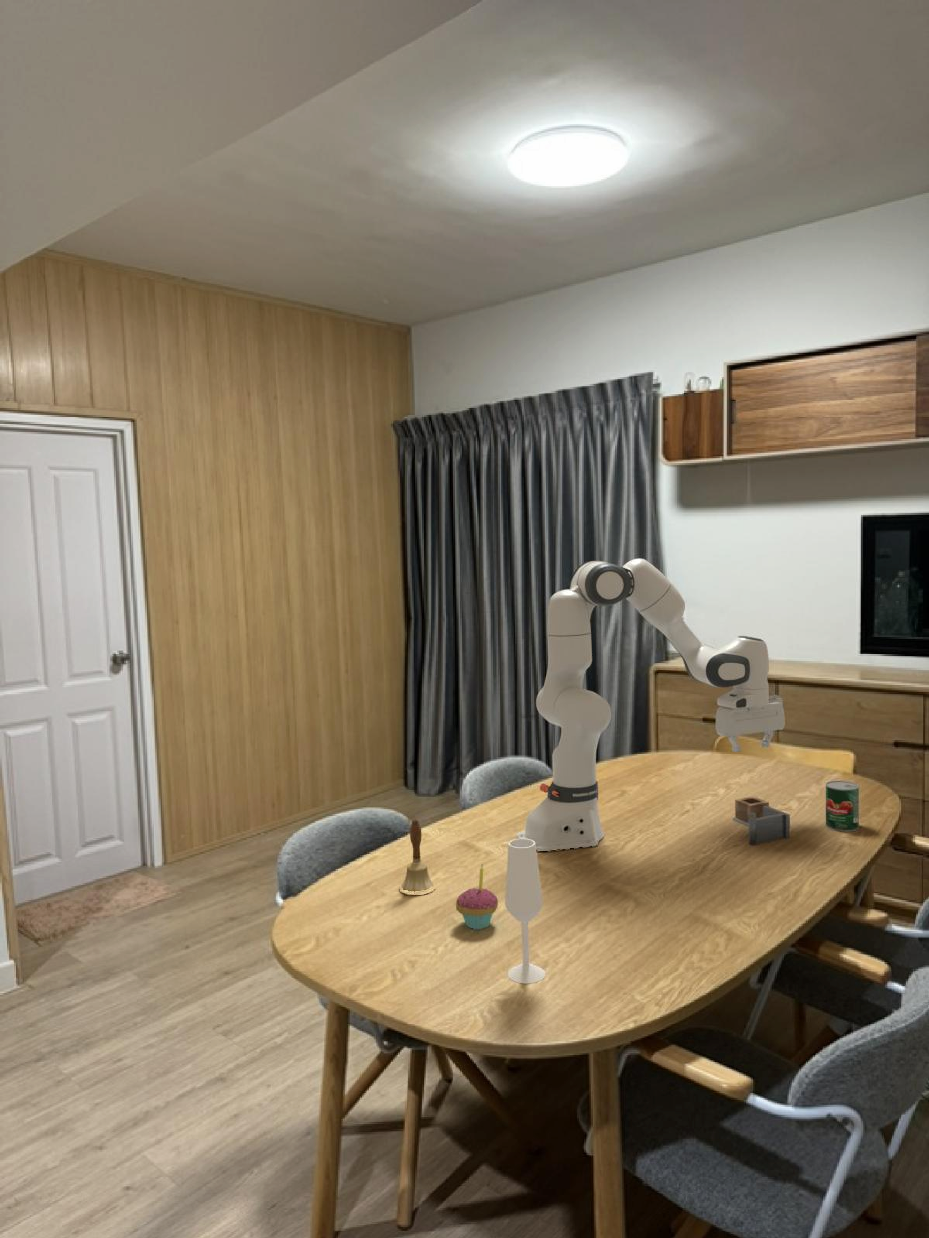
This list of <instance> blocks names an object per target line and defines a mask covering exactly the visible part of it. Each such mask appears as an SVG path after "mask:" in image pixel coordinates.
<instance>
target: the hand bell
mask: <svg viewBox="0 0 929 1238" xmlns="http://www.w3.org/2000/svg"><path fill="white" fill-rule="evenodd" d="M409 837H410V842H411V846H412V862H411V863H409V864H408V865H407V866H406V876H405V879H404V880H403V882H402V883H401V884H402V885H401V884H400V885H401V886H402V888H403V890H408V891H414V892H415V891H421V890H427V889H429V888H430V887H431V886H433V882H434V881H433V882H432V879H431V878H430V875H429V871H428V866H427V864H426V862H423V861H421V849H420V847H421V843H422V827H421V825H420V822H419V819H417V818H413V819H412V820H411V825H410V829H409Z"/></svg>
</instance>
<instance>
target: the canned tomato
mask: <svg viewBox="0 0 929 1238" xmlns="http://www.w3.org/2000/svg"><path fill="white" fill-rule="evenodd" d="M859 804H860V786H859V784H857V783H855V782H852V781H846V780H845V781H844V780H832V781H831V780H830V781H828V782H825V826H826V827H827V828H828V829H830V830H832V831H837V832H855V831H857V830H859V829H860V826H859V825H860V824H859V823H860V819H859V816H860V805H859Z"/></svg>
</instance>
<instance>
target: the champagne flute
mask: <svg viewBox="0 0 929 1238" xmlns="http://www.w3.org/2000/svg"><path fill="white" fill-rule="evenodd" d="M507 844H508V845H507V846H508V847H507V862H506V864H507V865H506V881H505V882H506V883H505V896H504V897H505V899H504V900H505V901H504V905H505V908H506V910H507V912H508V913H509V914H510V915H511V916H512V917H513V918H514V919H515V920H517V921H518V922H520V923H521V943H522V944H521V948H522V950H521V951H522V963H520V964H518V965H516V966H514V967H511V968H510V969H509V970H508V972H507V976H508V979H510V980H511V981H513V982H515V983H519V984H525V985H526V984H534V983H538V982H540V981H542V980H544V978H545V977H546V971H545V970H544V969H543V968H541V967H540V966H537V965H535V964H532V963H530V944H529V943H530V941H529V923H530V922H531V921H533V919H534V918H535V917H537V916H538V915H539V913H540V912H541V910H542V909H543V905H544V901H543V892H542V884H541V878H540V870H539V861H538V854H537V851H536V845H535V841H533V840H530V839H517V838H516V839H515V838H514V839H512V840H510V841H508V843H507Z"/></svg>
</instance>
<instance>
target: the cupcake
mask: <svg viewBox="0 0 929 1238" xmlns="http://www.w3.org/2000/svg"><path fill="white" fill-rule="evenodd" d="M483 865H484V863H482V864H481V867H480V868H479V880H478V881H479V882H478V885H479V886H478V888H475V887H472V888H469V889H467V890H466V891H464V892H463V893H461V894H459V896H458V898H456V903H455V908H456V911H457V912H458V913H459V914H461V915H462V918H463V919H464V922H465V926H466V925H467V926H468V927H470V928H469V929H471V928H473V929H472V930H483V928H484V929H486V928H489V926H490V924H491V921H492V920H491V919H492V917H493V914H494V913H495V912H496V910H497V908H498V905H499V900H498V897H497V896H496V895H495V894H494V892H492V891H491V890H488V889H487V888H483V879H484V868H483ZM467 926H466V927H467ZM468 927H467V928H468ZM485 927H486V928H485Z"/></svg>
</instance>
